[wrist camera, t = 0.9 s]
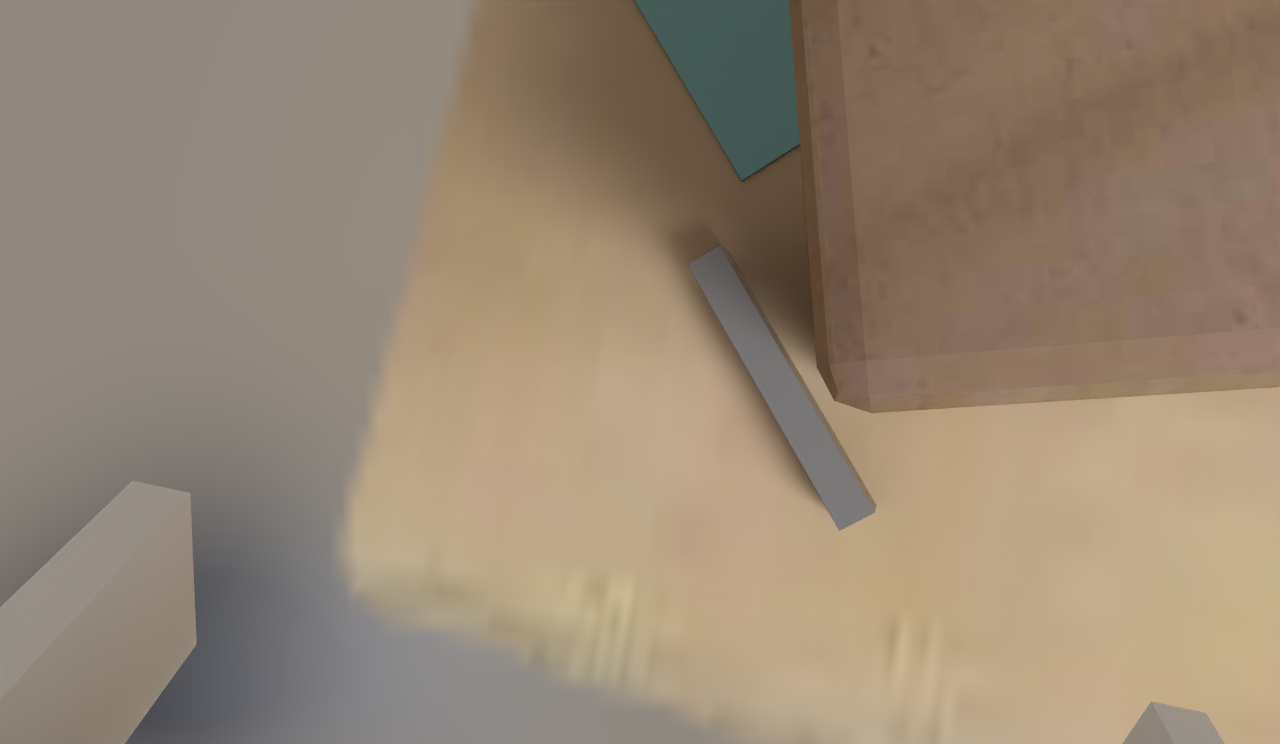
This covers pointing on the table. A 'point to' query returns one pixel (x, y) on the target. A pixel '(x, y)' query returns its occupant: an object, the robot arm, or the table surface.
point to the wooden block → (1040, 197)
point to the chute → (783, 388)
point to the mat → (734, 71)
